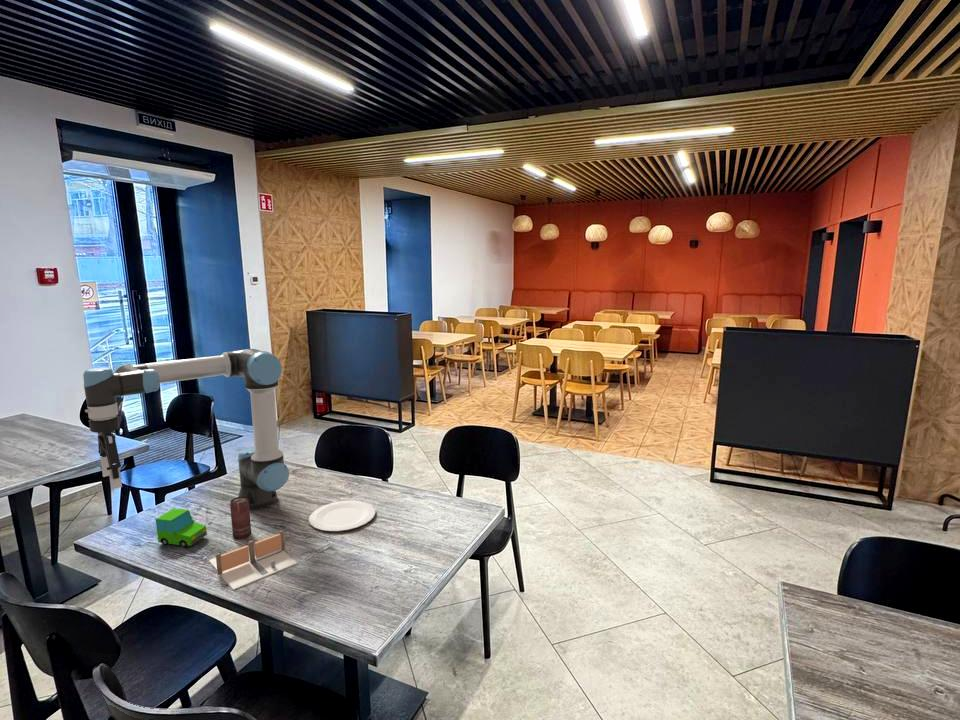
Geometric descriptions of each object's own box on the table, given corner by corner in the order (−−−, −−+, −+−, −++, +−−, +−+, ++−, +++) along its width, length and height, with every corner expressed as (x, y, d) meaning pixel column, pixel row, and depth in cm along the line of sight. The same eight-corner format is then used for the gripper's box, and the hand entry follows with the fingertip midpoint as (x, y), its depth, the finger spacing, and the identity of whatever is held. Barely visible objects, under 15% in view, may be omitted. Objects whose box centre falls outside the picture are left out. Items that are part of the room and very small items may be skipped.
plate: (294, 527, 192) (294, 523, 191) (336, 499, 215) (336, 496, 214) (350, 540, 182) (349, 535, 182) (387, 510, 205) (387, 506, 205)
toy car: (189, 551, 175) (186, 524, 173) (156, 547, 178) (153, 520, 176) (210, 536, 185) (208, 510, 183) (178, 532, 188) (176, 507, 186)
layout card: (269, 539, 183) (268, 532, 182) (297, 563, 167) (296, 557, 167) (208, 561, 169) (208, 554, 168) (233, 590, 153) (232, 583, 153)
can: (233, 542, 180) (230, 505, 178) (232, 534, 186) (229, 498, 184) (252, 538, 183) (249, 501, 181) (250, 530, 189) (247, 494, 186)
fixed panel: (283, 548, 176) (282, 529, 175) (285, 549, 175) (284, 530, 174) (249, 561, 168) (247, 541, 167) (251, 563, 167) (249, 543, 166)
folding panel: (248, 561, 167) (246, 542, 166) (249, 563, 166) (248, 544, 165) (216, 573, 161) (215, 554, 160) (218, 575, 160) (216, 555, 159)
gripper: (82, 412, 166) (91, 473, 170) (96, 428, 149) (105, 497, 152) (110, 407, 171) (118, 467, 175) (126, 423, 154) (135, 489, 157)
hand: (112, 481), depth 164 cm, fingers open, 13 cm apart
